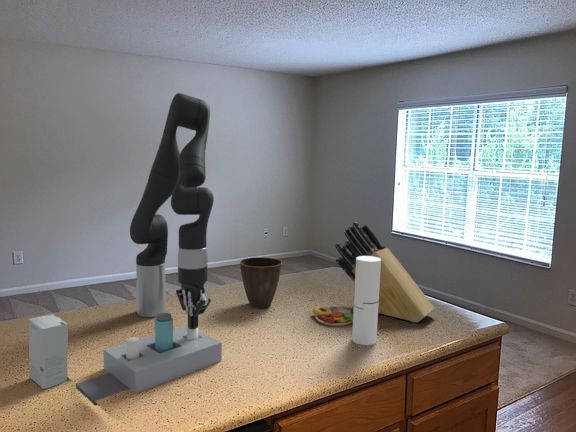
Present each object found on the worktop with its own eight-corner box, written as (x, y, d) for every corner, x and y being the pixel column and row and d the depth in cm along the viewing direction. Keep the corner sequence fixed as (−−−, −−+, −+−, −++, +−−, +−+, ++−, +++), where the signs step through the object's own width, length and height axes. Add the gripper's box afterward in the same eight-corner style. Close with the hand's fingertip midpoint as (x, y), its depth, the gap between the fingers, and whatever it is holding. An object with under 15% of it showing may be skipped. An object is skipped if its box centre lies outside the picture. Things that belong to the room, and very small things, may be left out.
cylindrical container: (376, 346, 136) (380, 262, 133) (351, 343, 137) (355, 260, 134) (376, 337, 143) (381, 256, 139) (352, 334, 144) (356, 255, 141)
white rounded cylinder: (123, 367, 113) (123, 339, 112) (135, 363, 115) (135, 336, 114) (129, 371, 111) (129, 343, 110) (141, 367, 113) (141, 340, 112)
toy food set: (310, 314, 162) (310, 305, 162) (346, 312, 165) (347, 303, 164) (320, 328, 149) (321, 319, 149) (360, 326, 152) (360, 317, 151)
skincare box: (28, 378, 112) (25, 318, 110) (54, 369, 117) (52, 312, 115) (44, 390, 107) (41, 328, 105) (70, 381, 111) (68, 321, 109)
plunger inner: (184, 352, 125) (184, 327, 124) (194, 349, 127) (193, 325, 126) (191, 356, 123) (190, 331, 122) (200, 353, 125) (200, 328, 124)
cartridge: (151, 364, 119) (151, 315, 117) (167, 359, 122) (166, 311, 120) (161, 370, 116) (160, 319, 114) (176, 364, 119) (176, 315, 117)
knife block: (345, 296, 182) (349, 217, 178) (435, 316, 162) (441, 228, 158) (330, 303, 173) (333, 220, 169) (423, 326, 153) (430, 232, 149)
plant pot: (230, 303, 170) (231, 260, 167) (262, 295, 180) (263, 255, 177) (256, 315, 159) (257, 269, 156) (289, 306, 169) (290, 262, 166)
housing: (104, 372, 116) (103, 349, 115) (186, 345, 133) (186, 325, 132) (135, 397, 105) (135, 372, 104) (221, 364, 122) (221, 342, 121)
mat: (76, 387, 108) (75, 383, 108) (117, 374, 115) (117, 370, 115) (94, 405, 101) (94, 400, 101) (137, 389, 109) (137, 385, 108)
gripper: (220, 266, 120) (219, 331, 122) (190, 257, 129) (190, 318, 131) (195, 271, 114) (195, 339, 117) (166, 261, 123) (166, 324, 126)
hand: (192, 328), depth 124 cm, fingers closed
